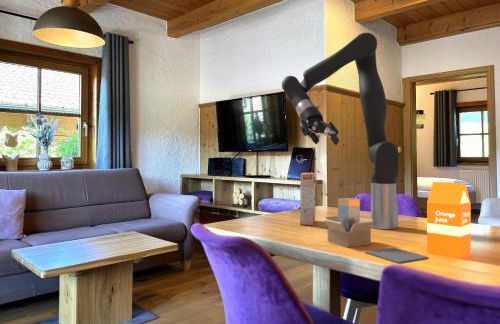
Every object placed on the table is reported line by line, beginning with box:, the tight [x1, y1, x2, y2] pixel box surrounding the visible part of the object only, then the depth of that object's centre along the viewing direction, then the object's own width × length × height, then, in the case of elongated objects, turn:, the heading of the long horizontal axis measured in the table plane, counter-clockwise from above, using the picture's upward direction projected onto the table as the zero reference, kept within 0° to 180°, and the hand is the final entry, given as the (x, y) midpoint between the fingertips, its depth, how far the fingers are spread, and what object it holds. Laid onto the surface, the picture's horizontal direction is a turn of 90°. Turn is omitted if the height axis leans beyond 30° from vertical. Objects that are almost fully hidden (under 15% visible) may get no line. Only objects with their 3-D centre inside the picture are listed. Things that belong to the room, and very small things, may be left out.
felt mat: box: [364, 247, 429, 264], centre depth 103 cm, size 11×12×1 cm
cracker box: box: [299, 172, 316, 227], centre depth 156 cm, size 14×6×21 cm, turn 168°
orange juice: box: [426, 181, 472, 260], centre depth 105 cm, size 8×9×20 cm
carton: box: [323, 215, 374, 248], centre depth 119 cm, size 14×14×8 cm
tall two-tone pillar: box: [337, 197, 361, 232], centre depth 119 cm, size 4×5×14 cm
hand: (327, 142), depth 131 cm, fingers open, 8 cm apart
